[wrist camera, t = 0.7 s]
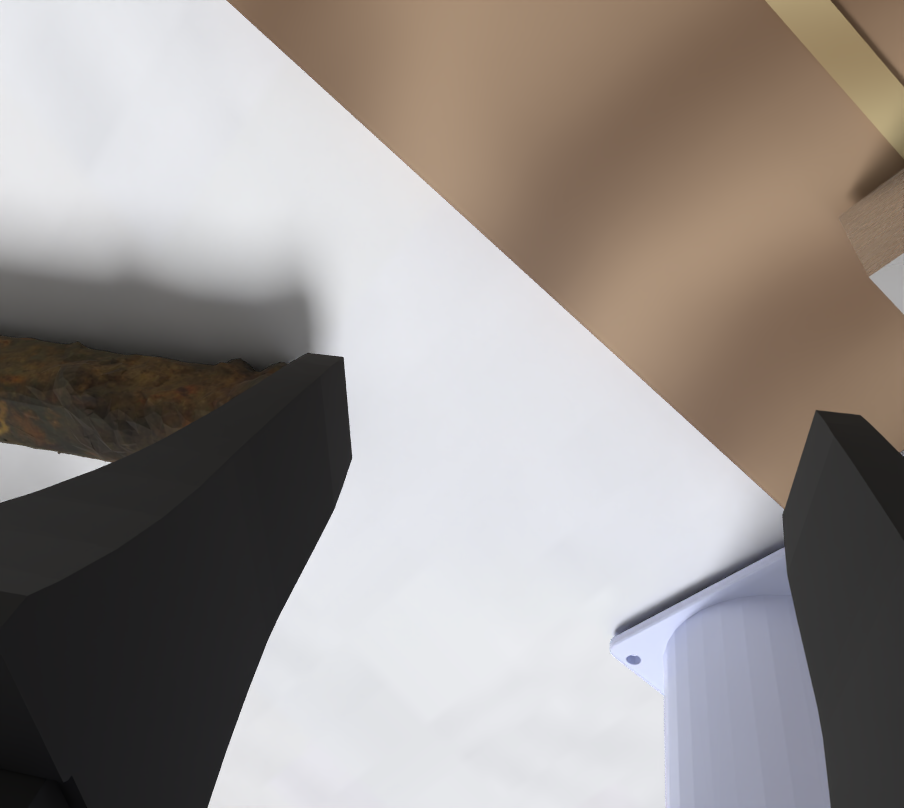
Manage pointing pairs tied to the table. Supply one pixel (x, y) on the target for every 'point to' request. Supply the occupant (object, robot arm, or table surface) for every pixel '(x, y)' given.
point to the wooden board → (657, 180)
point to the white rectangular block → (881, 236)
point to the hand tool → (106, 396)
